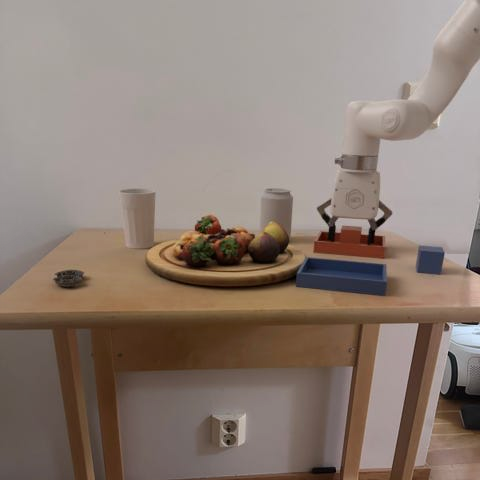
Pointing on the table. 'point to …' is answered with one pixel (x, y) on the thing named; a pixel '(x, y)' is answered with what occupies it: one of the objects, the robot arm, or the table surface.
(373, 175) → the robot arm
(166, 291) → the table surface
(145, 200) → the cup
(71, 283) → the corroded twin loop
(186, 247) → the wooden plate
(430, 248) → the blue block
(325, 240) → the terracotta tray
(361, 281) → the blue tray
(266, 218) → the can
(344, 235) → the terracotta block
